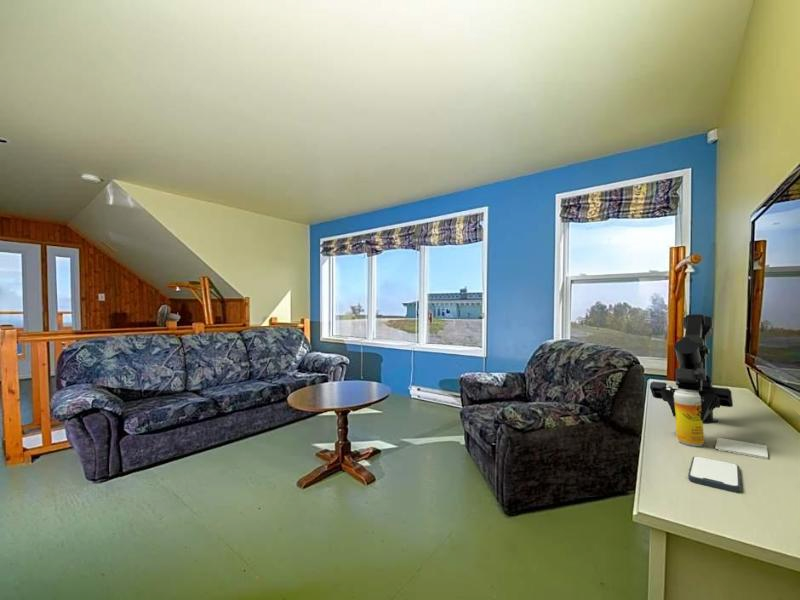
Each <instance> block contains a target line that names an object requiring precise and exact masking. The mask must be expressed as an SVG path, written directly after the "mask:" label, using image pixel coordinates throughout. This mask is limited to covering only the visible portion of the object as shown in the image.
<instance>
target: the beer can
mask: <svg viewBox="0 0 800 600" xmlns="http://www.w3.org/2000/svg"><path fill="white" fill-rule="evenodd" d="M674 403H675V427H676V428H675V429H676V430H675V431H676V439H677V440H678V441H679V442H681V443H680V444H682V443H683V444H682V445H685V444H686V446H690V447H701V445H702V446H703V445H704V444H705V435H704V423H703V421H702V419H701V414H702V408H701V396H700V395H699V392H697V391H693V390H683V389H680V390H675V393H674Z"/></svg>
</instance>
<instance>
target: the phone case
mask: <svg viewBox="0 0 800 600" xmlns="http://www.w3.org/2000/svg"><path fill="white" fill-rule="evenodd" d="M740 473H741V471H740V466H739V465H738V464H737V463H736V464H735V463H734V462H733V463H732V462H727V461H722V460H718V459H713V458H707V457H702V456H697V455H696V456H695V455H694V456H693V457H692V459H691V463H690V467H689V469H688V475H687V477H688V481H690V482H691V483H693V484H698V485H701V486H702V485H703V486H707V487H711V488H714V489H715V488H716V489H719V490H724V491H728V492H731V493H738V494H739V493H741V489H742V488H741V486H742V479H741V474H740Z"/></svg>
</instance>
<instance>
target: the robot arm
mask: <svg viewBox="0 0 800 600" xmlns="http://www.w3.org/2000/svg"><path fill="white" fill-rule="evenodd" d="M682 327H683V329H684V330H685V334H684V336H683V337H681V338H679V341H676V342H675V344H674V345H673V347H674V348H673V351H674V354H675V355H676V358H677V359H676V360H677V362H678V363H679V366H678V368H677V367H676V368H675V385H676V386H677V387H672V385H671V386H670V385H668V384H667V382H662V381H661V382H660V381H652V382H650V384H649V389H650V393H651V394H652V397H653V398H655V399H661V400H662V401H664V402H666V403H667V404H668V406H669V407H670V410H671V413H672V416H673V417H675V403H674V393H675V390H680V389H683V390H693V391H697V392H699V395H700V396H701V408H702V414H701V419H702V421H703V424H709V423H715V422H719V419H717V418H714V410H715V409H716V408H720V407H726V408H733V407H734V406H733V405H734V401H733V394H732V393H733V392H732V390H731V389H730V388H729V387H718V386H717V387H716V386H713V382H712V379H711V378H710V377H709V375H707V357H708V356H709V354H710V352H711V351H710V348H709V347H708V346H707V340H708V339H709V338H710V337H711V336H712V330H714V327H715V326H714V319H713V317H710V316H707V315H705V314H701V313H694V314H693V313H690V314H689V313H688V314H686V315H685V316H684V317H683V318H682ZM675 418H676V417H675Z"/></svg>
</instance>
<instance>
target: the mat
mask: <svg viewBox="0 0 800 600" xmlns="http://www.w3.org/2000/svg"><path fill="white" fill-rule="evenodd" d="M714 449H715V450H716V449H718V450H717V451H720V450H723V451H722V452H726V451H728V452H727V453H731V452H733V453H732V454H736V453H738V455H742V454H743V455H744V456H747V455H748V457H755V458H760V459H765V460H769V456H768V447H767V445H764V444H759V443H753V442H752V443H751V442H747V441H741V440H734V439H728V438H723V437H722V438H721V437H717V439H716V444H715V448H714ZM743 455H742V456H743Z"/></svg>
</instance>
